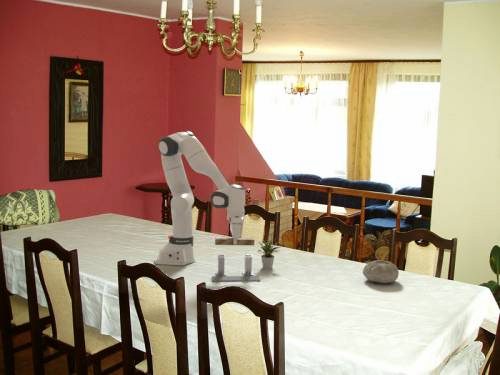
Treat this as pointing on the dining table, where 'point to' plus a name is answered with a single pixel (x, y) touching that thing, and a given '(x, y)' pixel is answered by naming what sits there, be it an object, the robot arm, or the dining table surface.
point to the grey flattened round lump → (381, 271)
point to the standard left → (221, 266)
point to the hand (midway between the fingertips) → (234, 243)
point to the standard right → (248, 265)
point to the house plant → (268, 254)
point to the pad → (234, 278)
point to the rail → (230, 241)
